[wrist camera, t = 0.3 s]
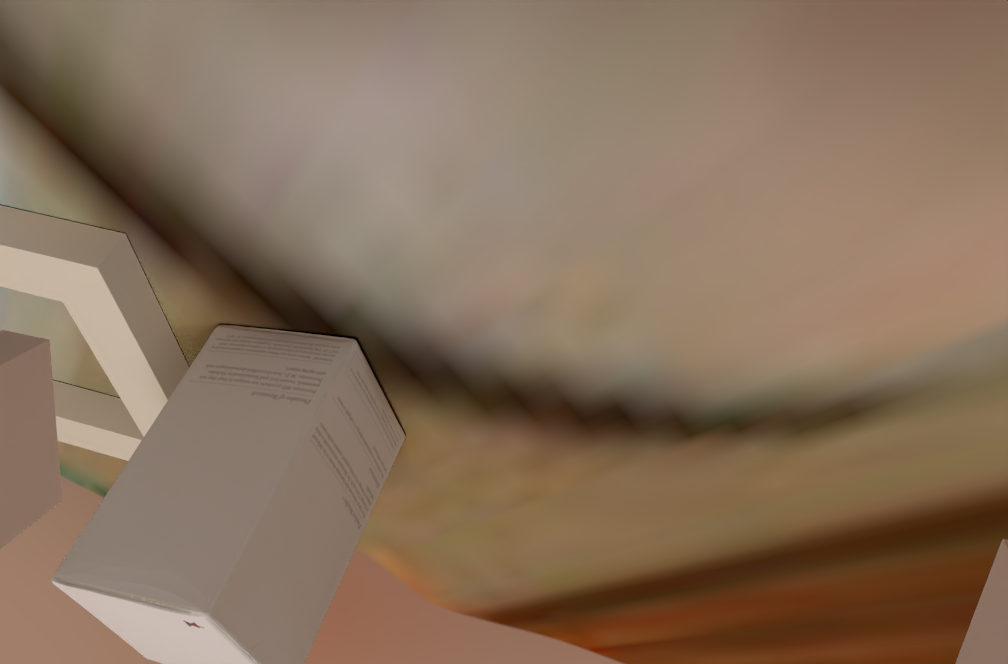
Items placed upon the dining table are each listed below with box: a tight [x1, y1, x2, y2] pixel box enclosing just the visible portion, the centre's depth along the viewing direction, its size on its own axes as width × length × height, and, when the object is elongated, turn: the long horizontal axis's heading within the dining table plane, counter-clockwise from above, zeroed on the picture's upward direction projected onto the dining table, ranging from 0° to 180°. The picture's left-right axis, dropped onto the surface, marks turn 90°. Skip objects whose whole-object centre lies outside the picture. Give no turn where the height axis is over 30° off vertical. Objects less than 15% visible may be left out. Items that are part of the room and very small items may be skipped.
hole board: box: [0, 205, 189, 461], centre depth 45 cm, size 17×17×2 cm
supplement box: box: [51, 325, 405, 664], centre depth 38 cm, size 7×7×13 cm
